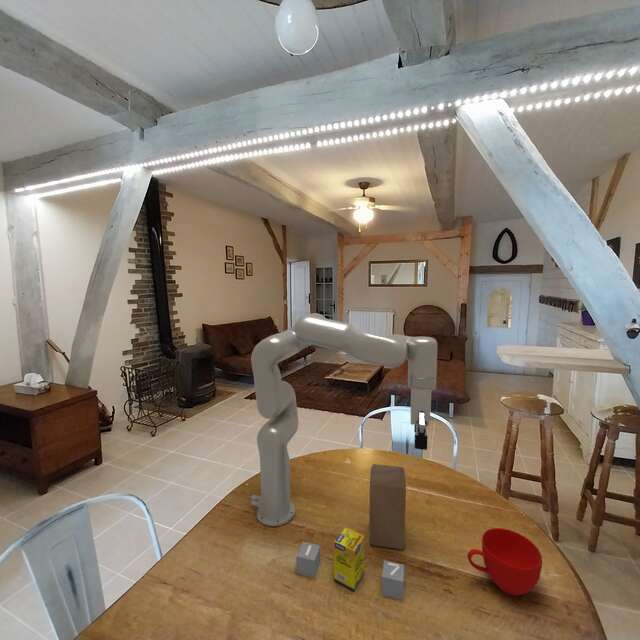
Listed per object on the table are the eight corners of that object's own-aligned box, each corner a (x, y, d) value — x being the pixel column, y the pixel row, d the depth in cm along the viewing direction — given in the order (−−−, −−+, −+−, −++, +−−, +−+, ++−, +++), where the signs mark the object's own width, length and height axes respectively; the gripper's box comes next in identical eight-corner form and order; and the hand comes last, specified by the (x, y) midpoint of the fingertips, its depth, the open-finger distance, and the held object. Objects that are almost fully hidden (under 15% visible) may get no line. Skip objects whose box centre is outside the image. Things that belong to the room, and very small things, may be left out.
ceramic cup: (457, 561, 89) (458, 527, 88) (520, 562, 89) (522, 528, 88) (478, 607, 76) (480, 568, 75) (552, 609, 76) (555, 569, 75)
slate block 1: (296, 573, 86) (296, 555, 85) (302, 558, 90) (302, 541, 90) (314, 578, 84) (314, 559, 84) (320, 562, 89) (320, 545, 89)
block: (404, 551, 92) (406, 485, 90) (368, 546, 94) (369, 481, 92) (403, 526, 102) (404, 465, 100) (370, 522, 104) (371, 462, 102)
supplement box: (354, 592, 80) (354, 551, 79) (333, 581, 83) (333, 541, 82) (364, 574, 85) (365, 535, 84) (344, 564, 88) (344, 526, 87)
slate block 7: (381, 595, 80) (381, 575, 79) (383, 578, 84) (383, 559, 84) (402, 600, 78) (403, 581, 78) (403, 582, 83) (404, 563, 82)
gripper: (408, 372, 100) (407, 426, 102) (407, 389, 83) (406, 454, 85) (434, 374, 98) (432, 429, 100) (438, 392, 81) (436, 457, 83)
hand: (420, 440), depth 92 cm, fingers open, 9 cm apart
